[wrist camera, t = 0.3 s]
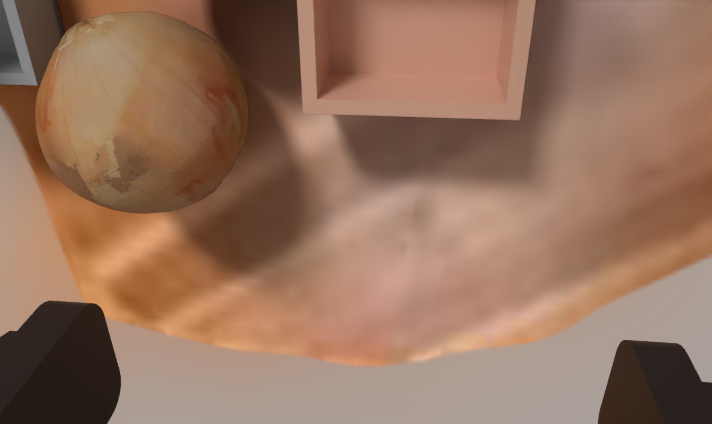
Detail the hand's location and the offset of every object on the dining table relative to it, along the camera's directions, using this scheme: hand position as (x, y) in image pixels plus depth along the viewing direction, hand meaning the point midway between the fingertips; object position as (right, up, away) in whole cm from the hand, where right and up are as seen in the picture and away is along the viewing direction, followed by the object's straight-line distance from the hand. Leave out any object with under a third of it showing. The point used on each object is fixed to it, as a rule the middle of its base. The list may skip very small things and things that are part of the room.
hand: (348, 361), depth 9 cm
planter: (+3, +14, +20) cm, 25 cm away
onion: (-10, +10, +24) cm, 28 cm away
